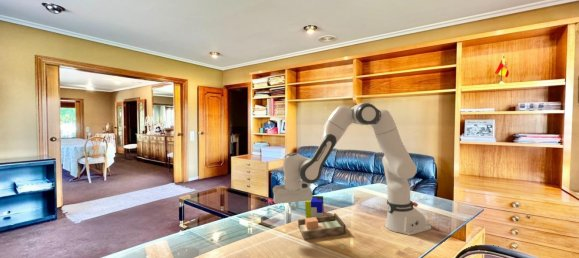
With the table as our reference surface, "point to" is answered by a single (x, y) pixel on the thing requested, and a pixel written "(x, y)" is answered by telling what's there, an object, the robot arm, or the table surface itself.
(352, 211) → the table surface
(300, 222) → the box
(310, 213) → the puzzle toy
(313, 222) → the block
